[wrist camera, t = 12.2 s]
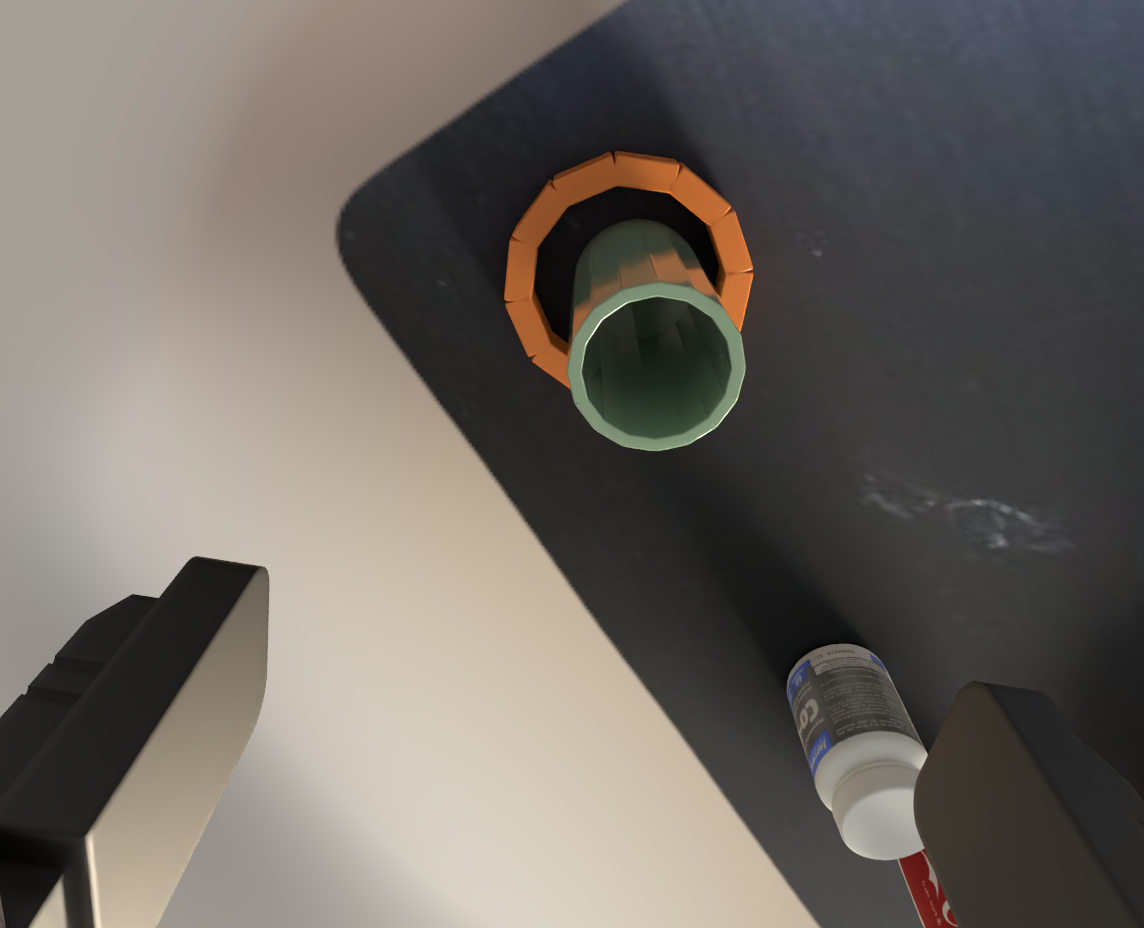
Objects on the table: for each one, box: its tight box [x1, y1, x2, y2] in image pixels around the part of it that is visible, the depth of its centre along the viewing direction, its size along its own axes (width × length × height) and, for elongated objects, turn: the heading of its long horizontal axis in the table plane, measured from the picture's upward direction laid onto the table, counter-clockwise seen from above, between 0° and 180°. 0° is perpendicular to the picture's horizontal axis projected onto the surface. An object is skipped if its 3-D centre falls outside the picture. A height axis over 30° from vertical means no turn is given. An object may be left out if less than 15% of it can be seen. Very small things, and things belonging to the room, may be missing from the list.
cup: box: [567, 219, 746, 451], centre depth 28 cm, size 5×5×10 cm
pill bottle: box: [787, 644, 928, 860], centre depth 36 cm, size 5×5×8 cm
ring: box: [504, 151, 753, 389], centre depth 31 cm, size 9×9×2 cm
